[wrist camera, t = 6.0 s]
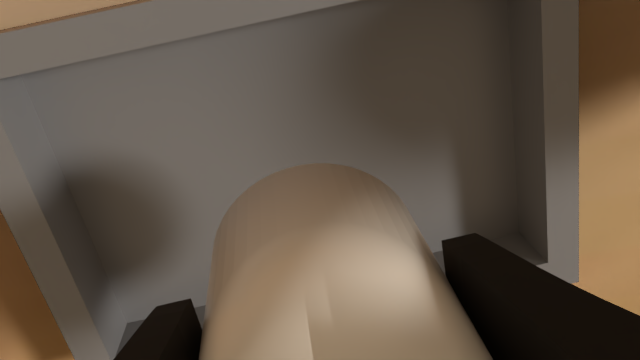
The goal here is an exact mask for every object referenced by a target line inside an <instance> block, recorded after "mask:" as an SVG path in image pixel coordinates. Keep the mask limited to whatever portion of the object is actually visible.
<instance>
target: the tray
mask: <svg viewBox="0 0 640 360" xmlns="http://www.w3.org/2000/svg"><path fill="white" fill-rule="evenodd" d="M313 163H330V164H338V165H344V166H348V167H352V168H356V169H359V170H361V171H364V172H366V173H369V174H371V175H372V176H374V177H376V178H378V179H379V180H381V181H382V182H383V183H385V184H386V185H387V186H389V187H390V188H391V189H392V190H393V191H394V192H395V193H396V194H397V195H398V196H399V197H400V199H401V200H402V202H403V203H404V204H405V206H406V207H407V209H408V211H409V213H410V214H411V216H412V218H413V220H414V222H415V223H416V225H417V227H418V229H419V230H420V232H421V234H422V236H423V237H424V239H425V241H426V243H427V244H428V246H429V248H430V250H431V251H432V253H433V255H434V257H435V258H436V260H437V262H438V264H439V265H440V267H441V269H442V271H443V272H444V274H445V266H444V258H443V250H442V240H446V239H450V238H455V237H459V236H463V235H468V234H472V233H477V234H479V235H481V236H483V237H485V238H487V239H488V240H490V241H492V242H494V243H496V244H498V245H499V246H501V247H503V248H505V249H507V250H508V251H510V252H512V253H514V254H516V255H517V256H519V257H521V258H523V259H525V260H527V261H528V262H530V263H532V264H534V265H536V266H538V267H539V268H541V269H543V270H545V271H547V272H549V273H551V274H553V275H555V276H557V277H559V278H560V279H562V280H564V281H566V282H568V283H570V284H571V283H575V282H579V0H138V1H133V2H129V3H124V4H119V5H115V6H110V7H105V8H101V9H96V10H92V11H87V12H82V13H78V14H73V15H69V16H64V17H59V18H55V19H50V20H46V21H41V22H36V23H32V24H27V25H23V26H18V27H13V28H9V29H4V30H0V210H1V212H2V214H3V216H4V218H5V220H6V222H7V224H8V226H9V228H10V230H11V232H12V234H13V236H14V238H15V240H16V242H17V244H18V246H19V248H20V250H21V252H22V254H23V256H24V258H25V260H26V262H27V264H28V266H29V268H30V270H31V272H32V274H33V276H34V278H35V280H36V282H37V284H38V286H39V288H40V290H41V292H42V294H43V296H44V298H45V300H46V302H47V304H48V306H49V308H50V310H51V312H52V314H53V316H54V318H55V320H56V322H57V324H58V326H59V328H60V330H61V332H62V335H63V337H64V339H65V341H66V343H67V345H68V347H69V349H70V351H71V353H72V355H73V357H74V359H75V360H113V359H114V358H115V357H116V356H117V354H118V353H119V352H120V351H121V349H122V348H123V347H124V345H125V344H126V343H127V342H128V340H129V339H130V338H131V337H132V335H133V334H134V333H135V331H136V330H137V329H138V328H139V326H140V325H141V324H142V323H143V321H144V320H145V319H146V318H147V317H148V315H149V314H150V313H151V312H152V311H153V310H154V308H155V307H156V306H160V305H164V304H168V303H173V302H177V301H181V300H186V299H190V298H191V300H192V303H193V306H194V309H195V311H196V314H197V317H198V320H199V322H200V325H201V328H202V329H203V322H204V314H205V306H206V299H207V291H208V283H209V275H210V268H211V260H212V252H213V245H214V240H215V236H216V232H217V229H218V227H219V225H220V223H221V220H222V218H223V217H224V215H225V214H226V212H227V210H228V209H229V207H230V206H231V205H232V204H233V203H234V202H235V200H236V199H237V198H238V197H239V196H240V195H241V194H242V193H243V192H245V191H246V190H247V189H248V188H249V187H251V186H252V185H254V184H255V183H256V182H258V181H259V180H261V179H263V178H265V177H267V176H269V175H271V174H273V173H275V172H278V171H281V170H283V169H286V168H290V167H294V166H298V165H305V164H313ZM445 276H446V275H445Z"/></svg>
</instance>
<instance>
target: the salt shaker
mask: <svg viewBox="0 0 640 360" xmlns="http://www.w3.org/2000/svg"><path fill="white" fill-rule="evenodd" d="M199 360H493V358H492V357H491V355H490V353H489V351H488V350H487V348H486V346H485V344H484V343H483V341H482V339H481V337H480V336H479V334H478V332H477V330H476V329H475V327H474V325H473V323H472V322H471V320H470V318H469V316H468V314H467V313H466V311H465V309H464V307H463V306H462V304H461V302H460V300H459V299H458V297H457V295H456V293H455V292H454V290H453V288H452V286H451V285H450V283H449V281H448V279H447V278H446V276H445V274H444V272H443V271H442V269H441V267H440V265H439V264H438V262H437V260H436V258H435V257H434V255H433V253H432V251H431V250H430V248H429V246H428V244H427V243H426V241H425V239H424V237H423V236H422V234H421V232H420V230H419V229H418V227H417V225H416V223H415V222H414V220H413V218H412V216H411V214H410V213H409V211H408V209H407V207H406V206H405V204H404V203H403V202H402V200H401V199H400V197H399V196H398V195H397V194H396V193H395V192H394V191H393V190H392V189H391V188H390V187H389V186H387V185H386V184H385V183H383V182H382V181H381V180H379V179H378V178H376V177H374V176H372V175H371V174H369V173H366V172H364V171H361V170H359V169H356V168H352V167H348V166H344V165H338V164H330V163H313V164H305V165H298V166H294V167H290V168H286V169H283V170H281V171H278V172H275V173H273V174H271V175H269V176H267V177H265V178H263V179H261V180H259V181H258V182H256V183H255V184H254V185H252V186H251V187H249V188H248V189H247V190H246V191H245V192H243V193H242V194H241V195H240V196H239V197H238V198H237V199H236V200H235V202H234V203H233V204H232V205H231V206H230V207H229V209H228V210H227V212H226V214H225V215H224V217H223V218H222V220H221V223H220V225H219V227H218V229H217V232H216V236H215V240H214V245H213V252H212V260H211V268H210V275H209V283H208V291H207V299H206V306H205V314H204V322H203V329H202V337H201V345H200V353H199Z"/></svg>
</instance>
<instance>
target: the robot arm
mask: <svg viewBox="0 0 640 360" xmlns="http://www.w3.org/2000/svg"><path fill="white" fill-rule="evenodd" d="M442 250H443V258H444V266H445V275H446V278H447V279H448V281H449V283H450V285H451V286H452V288H453V290H454V292H455V293H456V295H457V297H458V299H459V300H460V302H461V304H462V306H463V307H464V309H465V311H466V313H467V314H468V316H469V318H470V320H471V322H472V323H473V325H474V327H475V329H476V330H477V332H478V334H479V336H480V337H481V339H482V341H483V343H484V344H485V346H486V348H487V350H488V351H489V353H490V355H491V357H492V358H493V360H640V316H639V315H637V314H634V313H632V312H630V311H628V310H625V309H623V308H621V307H619V306H617V305H614V304H612V303H610V302H608V301H605V300H603V299H601V298H599V297H597V296H595V295H593V294H591V293H589V292H586V291H584V290H582V289H580V288H578V287H576V286H574V285H572V284H570V283H568V282H566V281H564V280H562V279H560V278H559V277H557V276H555V275H553V274H551V273H549V272H547V271H545V270H543V269H541V268H539V267H538V266H536V265H534V264H532V263H530V262H528V261H527V260H525V259H523V258H521V257H519V256H517V255H516V254H514V253H512V252H510V251H508V250H507V249H505V248H503V247H501V246H499V245H498V244H496V243H494V242H492V241H490V240H488V239H487V238H485V237H483V236H481V235H479V234H477V233H472V234H468V235H463V236H459V237H455V238H450V239H446V240H442ZM201 337H202V328H201V325H200V322H199V320H198V317H197V314H196V311H195V309H194V306H193V303H192V300H191V298H190V299H186V300H181V301H177V302H173V303H168V304H164V305H160V306H156V307H155V308H154V310H153V311H152V312H151V313H150V314H149V315H148V317H147V318H146V319H145V320H144V321H143V323H142V324H141V325H140V326H139V328H138V329H137V330H136V331H135V333H134V334H133V335H132V337H131V338H130V339H129V340H128V342H127V343H126V344H125V345H124V347H123V348H122V349H121V351H120V352H119V353H118V354H117V356H116V357H115V358H114V359H113V360H199V353H200V345H201Z"/></svg>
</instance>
